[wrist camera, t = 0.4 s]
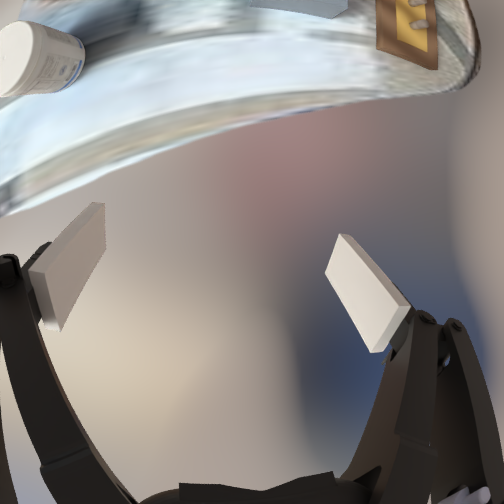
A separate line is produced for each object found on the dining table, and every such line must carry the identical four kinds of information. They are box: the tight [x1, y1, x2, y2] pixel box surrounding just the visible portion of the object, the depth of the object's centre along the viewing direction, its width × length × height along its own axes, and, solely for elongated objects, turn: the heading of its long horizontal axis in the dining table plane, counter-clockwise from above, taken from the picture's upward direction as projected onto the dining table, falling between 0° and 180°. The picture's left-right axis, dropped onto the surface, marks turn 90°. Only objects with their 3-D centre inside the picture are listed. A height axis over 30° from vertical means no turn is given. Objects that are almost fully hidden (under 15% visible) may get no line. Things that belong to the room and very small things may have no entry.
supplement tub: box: [0, 21, 85, 97], centre depth 20 cm, size 10×10×15 cm
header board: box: [376, 0, 438, 70], centre depth 25 cm, size 18×12×6 cm, turn 178°
